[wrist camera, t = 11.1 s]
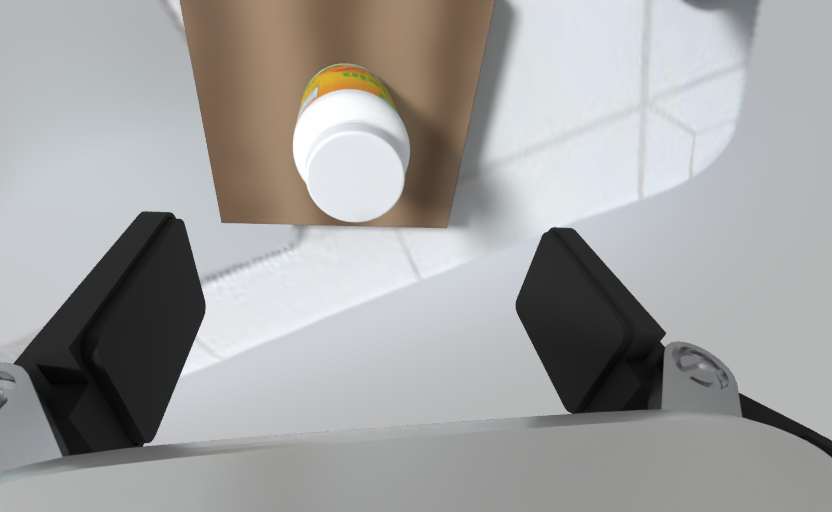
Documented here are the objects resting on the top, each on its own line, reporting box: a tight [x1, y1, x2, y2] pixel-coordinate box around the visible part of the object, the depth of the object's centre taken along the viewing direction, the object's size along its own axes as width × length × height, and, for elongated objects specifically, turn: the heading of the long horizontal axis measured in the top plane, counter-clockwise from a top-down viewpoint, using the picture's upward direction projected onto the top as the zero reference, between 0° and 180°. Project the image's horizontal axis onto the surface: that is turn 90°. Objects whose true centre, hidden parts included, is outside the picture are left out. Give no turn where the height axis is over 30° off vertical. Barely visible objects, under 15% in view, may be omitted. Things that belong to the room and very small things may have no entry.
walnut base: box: [180, 0, 495, 228], centre depth 24 cm, size 16×16×3 cm
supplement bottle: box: [293, 64, 410, 222], centre depth 19 cm, size 5×5×10 cm
